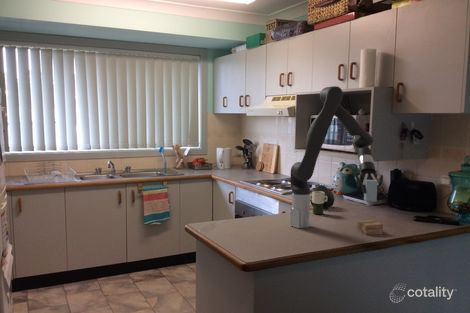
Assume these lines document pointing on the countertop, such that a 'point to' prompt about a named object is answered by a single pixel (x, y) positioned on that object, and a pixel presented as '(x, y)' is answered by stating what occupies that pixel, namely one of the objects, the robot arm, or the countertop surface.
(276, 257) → the countertop surface
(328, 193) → the squash
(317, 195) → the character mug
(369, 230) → the layered tan block
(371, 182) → the grey pillar block
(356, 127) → the robot arm
